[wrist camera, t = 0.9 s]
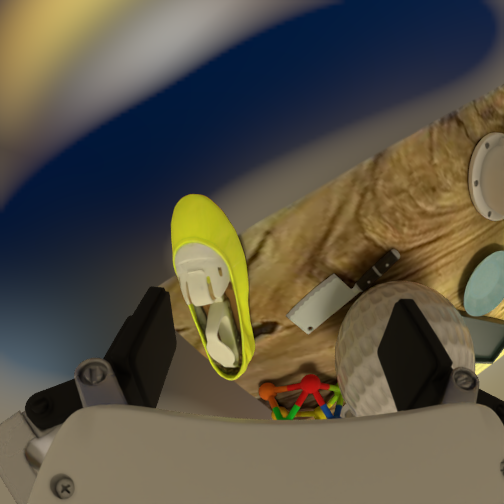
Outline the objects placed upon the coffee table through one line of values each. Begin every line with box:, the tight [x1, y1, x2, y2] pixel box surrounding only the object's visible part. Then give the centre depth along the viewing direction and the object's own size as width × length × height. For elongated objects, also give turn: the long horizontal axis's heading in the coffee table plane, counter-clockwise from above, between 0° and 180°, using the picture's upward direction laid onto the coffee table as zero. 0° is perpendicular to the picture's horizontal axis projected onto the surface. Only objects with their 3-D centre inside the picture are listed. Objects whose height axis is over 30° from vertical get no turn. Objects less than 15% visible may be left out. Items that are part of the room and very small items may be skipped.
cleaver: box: [286, 249, 400, 334], centre depth 35 cm, size 17×1×5 cm
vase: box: [335, 281, 475, 417], centre depth 27 cm, size 16×16×22 cm
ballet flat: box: [171, 194, 255, 380], centre depth 33 cm, size 8×24×8 cm, turn 11°
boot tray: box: [457, 310, 504, 364], centre depth 39 cm, size 24×10×2 cm, turn 76°
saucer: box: [464, 251, 504, 316], centre depth 33 cm, size 12×12×2 cm
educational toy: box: [259, 374, 344, 420], centre depth 41 cm, size 16×13×15 cm
